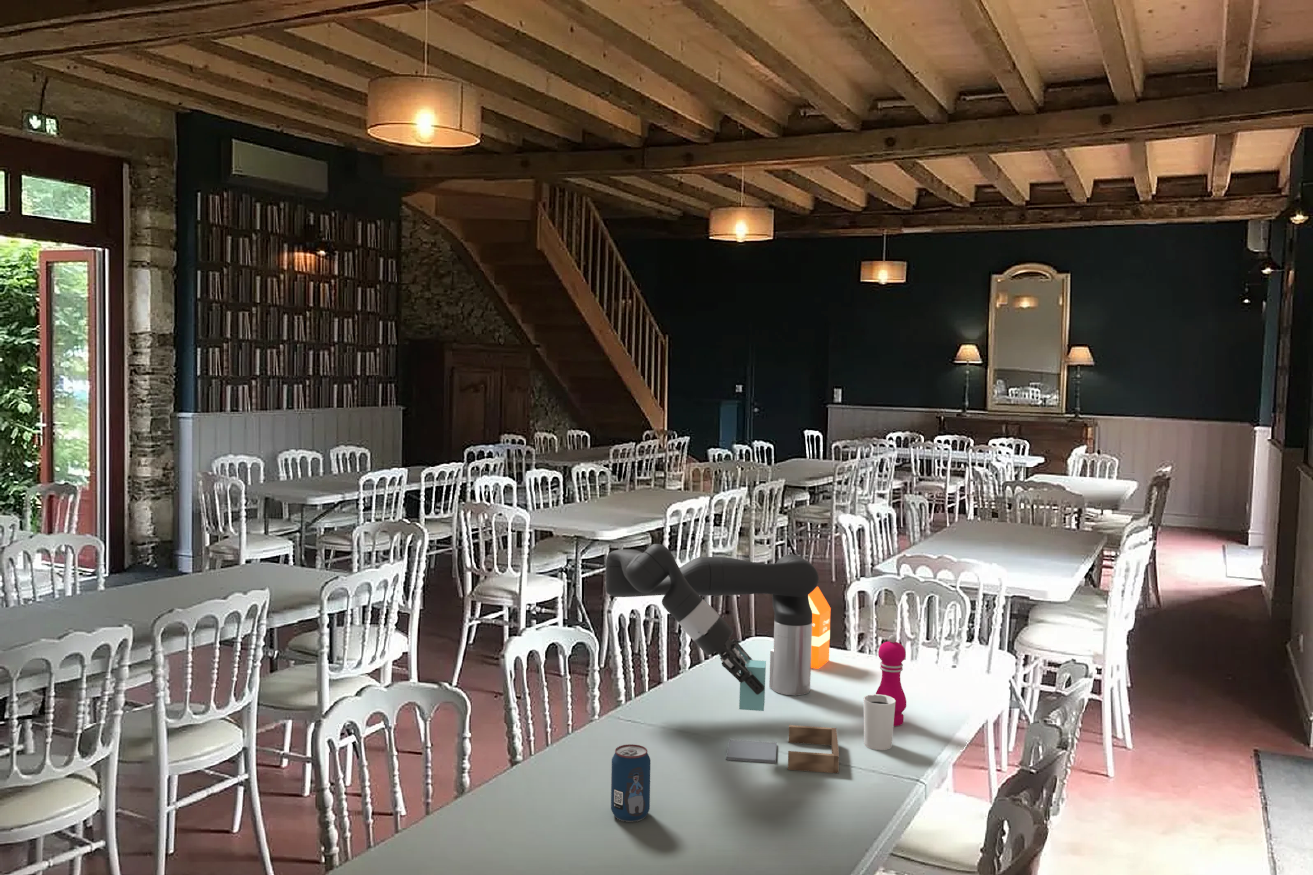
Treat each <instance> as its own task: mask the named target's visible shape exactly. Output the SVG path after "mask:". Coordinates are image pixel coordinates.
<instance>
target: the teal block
mask: <svg viewBox="0 0 1313 875" xmlns="http://www.w3.org/2000/svg"><path fill="white" fill-rule="evenodd" d="M745 661H746V662H747V668H748V669H749V670H750V671H751V672H752V674H753V675H754V676H755V677H756V678H757V679H758V680H759V681H760V682H761V683H762V684H763V686H764V690H763V691H762V692H761V693H760V694H758V695H757V694H756V693H755V692H754V691H753V690H752V689H751V688H750V687H749V686H748V685H747V684H746V683H745V682H742V683H741V682H739V703H738V704H739V705H738V706H739V707H738V708H739V709H738V710H744V711H756V712H757V711H758V712H764V710H765V702H766V701H765V700H766V699H765V698H766V697H765V696H766V672H767V670H766V666H767V660H759V659H758V660H755V659H752V660H745ZM743 673H744V672H743V671H741V670H740V674H741V675H742V674H743Z"/></svg>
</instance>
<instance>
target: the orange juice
mask: <svg viewBox="0 0 1313 875" xmlns="http://www.w3.org/2000/svg"><path fill="white" fill-rule="evenodd" d="M808 599H809V604H810V608H811V610H812V646H811V669H817V670H818V669H820V668H822V667H823V666H825V664H826V663H828V662H829V660H830V641H831V640H830V639H831V609H832V607H830V605H829V602H828V601H827V599H826V598H825V596H824V594H823V592H822V591H821V589H820V587H819V586H817V587H816V588H815V589H814V590H813V591H812V592H811V593H810V594H808Z"/></svg>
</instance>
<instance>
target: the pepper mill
mask: <svg viewBox="0 0 1313 875" xmlns="http://www.w3.org/2000/svg"><path fill="white" fill-rule="evenodd" d="M877 654H878V658H879V659H880V660H881V662H880V663H879V665H880V666H879V668H880V670H881V681H880V684H879V686H878V688H877V690H876V692H875V694H880V695H886V696H890V697H892V698H894V699H895V700H896V702H895V714H894V725H893V727H899V726H902V725H903V724H904V719H905V718H904V717H905V716H904V714H903V712H904V711H905V710H906V708H907V698H906V695H905V692H904V690H903V687H902V683H901V673H902V672H903V670H904V668H903V666H904V664H903V661H905V659H906V656H907V654H906V649H905V647H904V646H903V645H902V644H901V643H900V642H898V641H897V637H896V635H894V634H891V635H889V636H888V641H885V642H883V643H882V644H881V645H880V646H879V648H878V653H877Z"/></svg>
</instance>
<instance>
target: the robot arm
mask: <svg viewBox="0 0 1313 875" xmlns="http://www.w3.org/2000/svg"><path fill="white" fill-rule="evenodd" d="M819 581H820V580H819V574H818V570H817V569H816V567H814V565H813V564H812V563H811V562H810V561H808V560H806V559H804V558H803V557H801V556H800V555H797V554H791V553H790V554H786V555H783V556H781V557H780V558H779V559H778V560H777V561H776V563H775V562H773V563H760V562H754V561H749V560H744V559H739V558H733V557H727V556H726V557H725V556H699V557H695V558H694V559H692V560H690V561H688V562H686V563H685V564H683V565H682V566H680V567H679V565H678V563H677V560H676V558H675V557H674V555H673V554H672V551H671V550H670V549H669V548H668V547H667V546H666V545H663V544H661V543H654V544H653V543H652V544H651V545H650V546H649V547H647V548H646V549H645V550H644V552H642V551H640V550H637V549H626V548H624V549H616V550H613V551H610V552H609V553H608V554H607V556H606V560H605V590H606V591H605V592H606V594H607V595H609V596H610V597H614V598H616V597H617V598H632V597H633V598H634V597H636V598H637V597H651V596H652V597H654V596H655V597H656V596H663V597H662V600H661V605H662V606H663V608H664V609H665V610H666V611H667V612H668V613H669V614H670V616H671V617H672V618H674V620H676V622H677V623H678V624H679V625H680V627H681V628H682V629H683V631H684V632H685V633H686V635H688V636H689V637H690V638H691V639H692V641H693V642H694V643H695V644H696V645H697V646H698V648H700V650H702V651H703V653H704V654H705V655H707V656H711V655H712V654H714V653H715V652H716V653H718V655H719V657H720V658H719V659H720V661H721V665H722V667H723V668H725V670H727V671H728V672H729V673H730V674H731V675H732V676H733V677H734V678H735V679H736V680H737V681H738V682H739V683H740V682H741V683H742V682H745V683H746V684H747V685H748V686H749V687H750V688H751V689H752V690H753V691H754V692H755V693H756V694H757V695H758V694H760V693H761V692H762V691H763V690H764V686H763V684H762V683H761V682H760V681H759V680H758V679H757V678H756V677H755V676H754V675H753V674H752V672H751V671H750V670H749V669H748V668H747V662H746V661H745V660H753V659H752V656H750V654H748V653H747V652H746V650H745V649H744V648H743V647H742V645H741V644H740V643H739V642H738V640H736V639H735V638H733V639H732V640H731V639H730V638H731V636H732V635H733V633H734V628H732V627H731V626H730V625H729V624H728V622H727V621H726V620H724V618H722V616H721V615H720V614H719V613H718V612H717V611H716V609H714V608H713V607H712V606H711V605H710V604H709V602H706V601H705V600H704V599H703V597H701V596H707V597H708V596H715V597H717V596H722V597H723V596H740V595H741V596H742V595H759V594H762V595H763V594H764V595H772V601H771V602H772V608H773V612H774V616H773V617H774V618H773V619H774V626H773V648H772V649H770V654H769V688H771V689H772V690H773V691H774V692H776V693H777V694H780V695H787V696H802V695H807V694H808V693H809V692H811V677H812V676H811V675H812V668H811V646H812V610H811V608H810V604H809V599H808V594H810V593H811V592H812V591H813V590H814V589H815V588H816V587H818V584H819ZM740 670H741V671H743V672H744V673H743V674H742V675H741V674H740Z"/></svg>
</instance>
